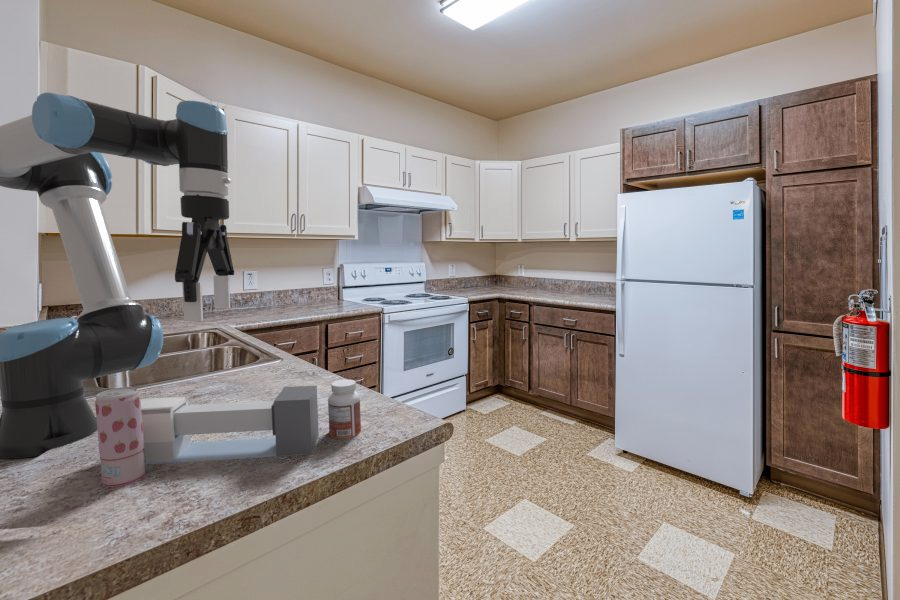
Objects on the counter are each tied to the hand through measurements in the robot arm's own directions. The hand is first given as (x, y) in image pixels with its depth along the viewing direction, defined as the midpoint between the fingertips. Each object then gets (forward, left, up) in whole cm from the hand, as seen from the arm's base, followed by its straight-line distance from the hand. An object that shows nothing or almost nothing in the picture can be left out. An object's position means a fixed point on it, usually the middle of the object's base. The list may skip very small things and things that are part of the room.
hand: (209, 314), depth 81 cm
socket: (+16, -4, -24) cm, 29 cm away
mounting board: (+3, -4, -25) cm, 26 cm away
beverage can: (-9, -12, -26) cm, 30 cm away
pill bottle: (+24, +1, -26) cm, 35 cm away
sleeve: (-9, -4, -24) cm, 26 cm away
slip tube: (+5, -4, -21) cm, 22 cm away
